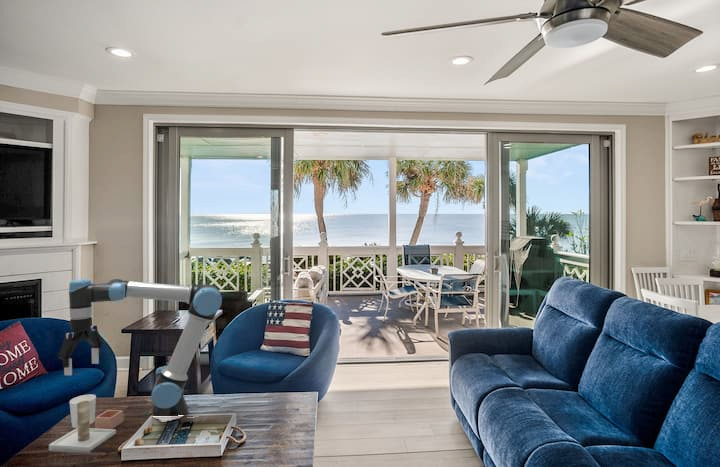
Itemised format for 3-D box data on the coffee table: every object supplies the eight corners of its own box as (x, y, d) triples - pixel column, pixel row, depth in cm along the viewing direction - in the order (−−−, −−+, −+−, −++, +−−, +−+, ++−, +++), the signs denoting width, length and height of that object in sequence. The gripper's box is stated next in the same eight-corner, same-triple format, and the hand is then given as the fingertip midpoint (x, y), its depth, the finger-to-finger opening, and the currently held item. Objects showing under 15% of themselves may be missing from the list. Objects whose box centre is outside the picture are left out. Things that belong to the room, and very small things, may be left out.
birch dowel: (92, 436, 167) (91, 400, 167) (84, 441, 163) (83, 405, 163) (83, 436, 168) (82, 400, 168) (75, 441, 164) (74, 404, 164)
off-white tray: (116, 435, 171) (116, 429, 171) (89, 453, 157) (89, 447, 157) (78, 433, 173) (78, 427, 173) (49, 450, 160) (48, 444, 160)
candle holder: (83, 431, 175) (82, 404, 174) (64, 429, 177) (63, 402, 176) (101, 421, 184) (101, 395, 184) (83, 419, 186) (83, 393, 186)
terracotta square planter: (123, 423, 181) (123, 410, 181) (111, 432, 174) (110, 418, 174) (108, 422, 182) (108, 409, 182) (95, 431, 175) (94, 417, 175)
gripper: (96, 311, 178) (97, 358, 178) (45, 324, 153) (46, 380, 153) (112, 311, 177) (113, 359, 177) (62, 324, 152) (64, 380, 152)
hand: (82, 369), depth 165 cm, fingers open, 13 cm apart
